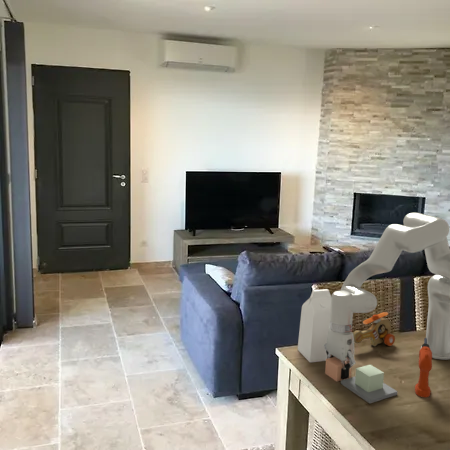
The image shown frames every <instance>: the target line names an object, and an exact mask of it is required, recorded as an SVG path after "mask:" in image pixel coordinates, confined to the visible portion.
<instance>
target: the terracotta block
mask: <svg viewBox="0 0 450 450" xmlns="http://www.w3.org/2000/svg"><path fill="white" fill-rule="evenodd" d="M346 364H347V361H345V365H346ZM352 367H353V366H352ZM352 367H351V368H349V378H351V377H352ZM341 368H343V367H342V362H341V360H339V359H338V358H336V357H332V358H328V359H326V361H325V369H324V374H325V375H326V376H328V377H329V378H331V379H332V380H333V381H335V382H339V381H340V382H341V380H344V379H341ZM346 379H348V378H346Z"/></svg>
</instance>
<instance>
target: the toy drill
mask: <svg viewBox="0 0 450 450" xmlns="http://www.w3.org/2000/svg"><path fill="white" fill-rule="evenodd" d="M421 346H422V348H421V347H420V349H419V352H418V357H419V358H418V369H419V377H418V382H417V383H416V384H415V385H414V393H415V394H416V395H417V397H421V398H429V397H430V396H431V391H432V390H431V387H430V386H429V376H430V371H432V369H433V361H432V360H433V358H432V351H431V349H430V347H429V345H428V344H427V338H426V337H424V340H423V343H422V345H421Z"/></svg>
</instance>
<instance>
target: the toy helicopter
mask: <svg viewBox="0 0 450 450" xmlns="http://www.w3.org/2000/svg"><path fill="white" fill-rule="evenodd" d="M388 315H389V312H387V311H383V312H380V313H378V314H373V315H372V316H371V317H369V318H367V319H365V320H362V324H363V325H369V324H371V323H372V324H371V326H370V327H369V328H367V329H364V330H354V331H352V333H353V336H354V344H355V343H356V344H360V343H361V342H362V341H363V340H367V339H369V341H370V345H371V346H373V347H376V346H377V345H378V344H382V343H384V345H386V346H388V347H391V346H393V345H394V343H395V342H396V338H395V335H394V334H392V333H391V330H392V323H391V321H390V320H389V319H387V318H385V317H386V316H388Z"/></svg>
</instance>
